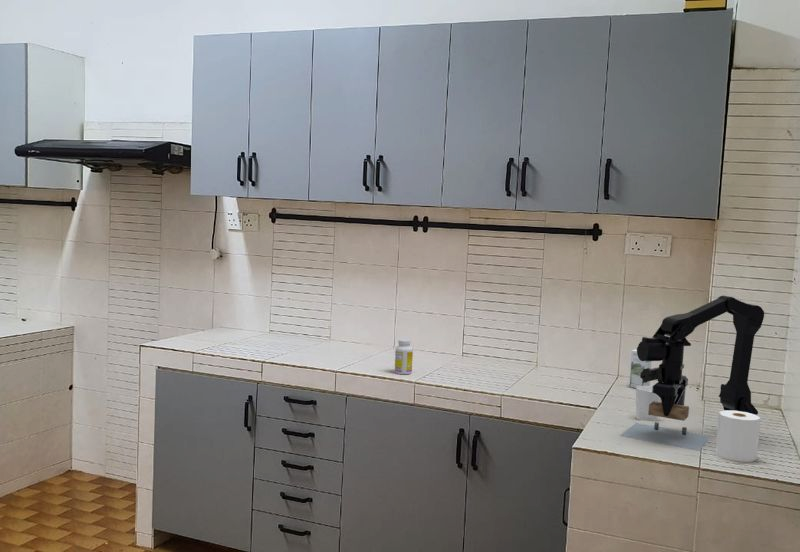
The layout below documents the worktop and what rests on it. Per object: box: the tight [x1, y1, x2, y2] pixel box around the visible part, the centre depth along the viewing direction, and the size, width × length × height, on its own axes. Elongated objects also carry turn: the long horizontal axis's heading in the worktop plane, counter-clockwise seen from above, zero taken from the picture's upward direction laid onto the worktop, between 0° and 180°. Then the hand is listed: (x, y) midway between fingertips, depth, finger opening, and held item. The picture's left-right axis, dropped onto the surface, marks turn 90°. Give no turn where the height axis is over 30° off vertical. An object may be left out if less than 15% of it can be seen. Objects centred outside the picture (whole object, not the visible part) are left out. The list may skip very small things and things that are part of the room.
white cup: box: [635, 385, 661, 422], centre depth 251 cm, size 8×8×10 cm
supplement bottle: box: [394, 338, 414, 375], centre depth 304 cm, size 7×7×13 cm
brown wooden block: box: [648, 401, 690, 422], centre depth 230 cm, size 10×6×3 cm, turn 59°
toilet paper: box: [715, 409, 761, 463], centre depth 213 cm, size 10×10×12 cm
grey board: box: [619, 421, 712, 452], centre depth 230 cm, size 22×18×3 cm
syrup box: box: [629, 348, 653, 390], centre depth 297 cm, size 6×6×14 cm
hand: (668, 413), depth 230 cm, fingers closed on brown wooden block, 6 cm apart
